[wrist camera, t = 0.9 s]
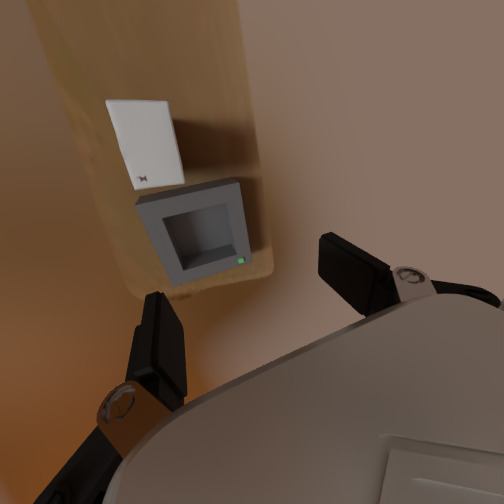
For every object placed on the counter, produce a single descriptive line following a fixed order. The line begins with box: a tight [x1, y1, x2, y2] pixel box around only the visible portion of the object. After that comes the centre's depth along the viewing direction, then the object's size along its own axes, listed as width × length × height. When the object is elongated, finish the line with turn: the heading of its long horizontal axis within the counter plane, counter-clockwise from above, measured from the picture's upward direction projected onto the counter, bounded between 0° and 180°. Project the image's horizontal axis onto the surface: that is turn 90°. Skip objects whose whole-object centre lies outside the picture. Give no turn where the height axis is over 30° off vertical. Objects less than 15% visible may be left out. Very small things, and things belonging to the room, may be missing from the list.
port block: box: [135, 177, 252, 287], centre depth 30 cm, size 13×13×5 cm
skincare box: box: [106, 100, 185, 190], centre depth 20 cm, size 6×4×12 cm
